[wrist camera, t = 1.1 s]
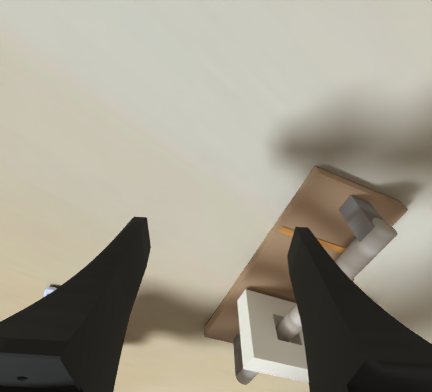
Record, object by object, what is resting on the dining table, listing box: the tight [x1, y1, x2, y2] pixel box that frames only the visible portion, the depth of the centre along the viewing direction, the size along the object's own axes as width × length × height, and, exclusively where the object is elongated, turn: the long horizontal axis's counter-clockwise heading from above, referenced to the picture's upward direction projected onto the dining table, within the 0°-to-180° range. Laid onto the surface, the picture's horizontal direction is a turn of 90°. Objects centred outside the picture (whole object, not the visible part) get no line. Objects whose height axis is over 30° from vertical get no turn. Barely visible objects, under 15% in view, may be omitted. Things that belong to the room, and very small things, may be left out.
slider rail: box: [204, 167, 408, 385], centre depth 28 cm, size 24×9×6 cm, turn 157°
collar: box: [237, 289, 309, 383], centre depth 27 cm, size 2×8×7 cm, turn 67°
